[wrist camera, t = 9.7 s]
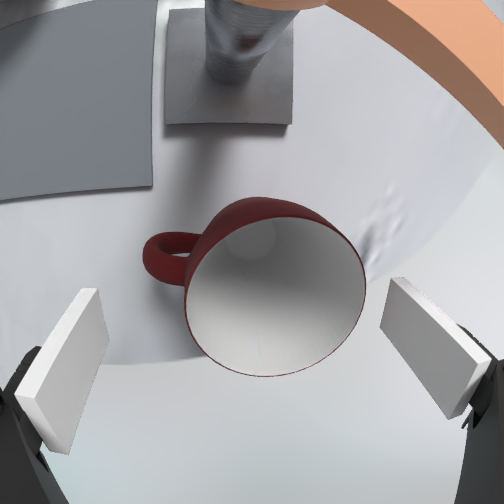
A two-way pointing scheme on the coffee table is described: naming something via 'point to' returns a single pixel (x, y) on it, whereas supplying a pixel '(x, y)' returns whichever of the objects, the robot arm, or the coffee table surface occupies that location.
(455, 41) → the ball-ended drumstick
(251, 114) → the clip post
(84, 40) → the mat
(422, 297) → the robot arm
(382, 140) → the coffee table surface
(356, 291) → the mug
